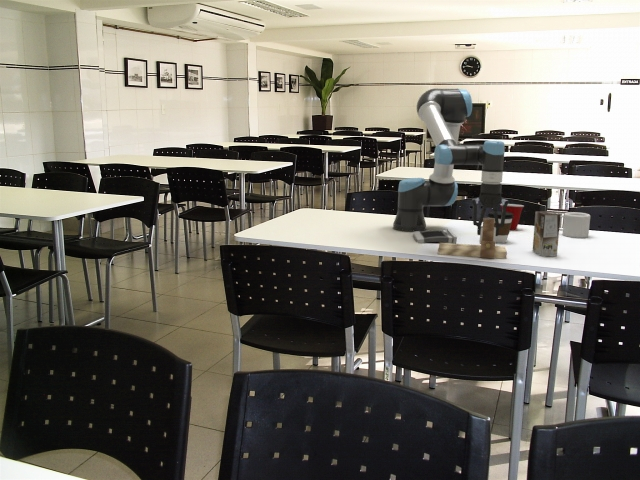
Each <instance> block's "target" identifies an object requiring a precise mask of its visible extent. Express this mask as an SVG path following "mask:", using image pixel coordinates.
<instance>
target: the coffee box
mask: <svg viewBox="0 0 640 480" xmlns="http://www.w3.org/2000/svg"><path fill="white" fill-rule="evenodd" d="M534 216H535V217H534V227H533V239H532V252H533V253H535V254H537V255H540V256H541V257H557V256H558V250H559V249H558V246H559V236H560V230H559V229H560V224H561V217H560V216H562V215H561V214H559V213H557V212H554V211H550V210H548V211H547V210H546V211H545V210H544V211H543V210H541V211H536V210H535V214H534Z"/></svg>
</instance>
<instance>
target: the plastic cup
mask: <svg viewBox="0 0 640 480" xmlns="http://www.w3.org/2000/svg"><path fill="white" fill-rule="evenodd" d="M499 205H500V209H502V208H503V205H502V203H499ZM524 207H525V205H522V204H515V203H508V205H507V207H506V212H509V213H512V214H513V216H514V218H513V219H512V221H511V222H512V223H511V227H510V231H516V230H517V229H518V226H519V223H520V217H521V214H522V211H523V208H524Z"/></svg>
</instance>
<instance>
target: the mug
mask: <svg viewBox="0 0 640 480" xmlns="http://www.w3.org/2000/svg"><path fill="white" fill-rule="evenodd" d="M560 218H563V226H562V228H559V232H560V231H561V232H562V235H563V236H564V237H567V238H573V239H574V238H575V239H585V238H588V237H589V234H590V233H589V232H590V224H591V223H590V222H591V215H590V214H589V213H586V212H576V211H575V212H574V211H573V212H572V211H570V212H569V211H568V212H565V213H564V215H561V216H560Z"/></svg>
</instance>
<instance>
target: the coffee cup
mask: <svg viewBox="0 0 640 480" xmlns="http://www.w3.org/2000/svg"><path fill="white" fill-rule="evenodd" d="M497 214H498V221H499V223H501V216H502V211H499V210H497ZM486 218H494V211H489V212H488V213H487V214H486ZM513 218H514V216H513V214H512V213H509V212H506V215H505V224H504V226H503V227H500V228H499V235H498V236H495V243H499V244H500V243H503V244H504V243H506V242H507V241H508V238H509V234H510V231H511V230H510V227H511V223H512V222H511V221H512V219H513ZM494 220H495V218H494ZM494 227H496V225H495V222H494Z"/></svg>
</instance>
